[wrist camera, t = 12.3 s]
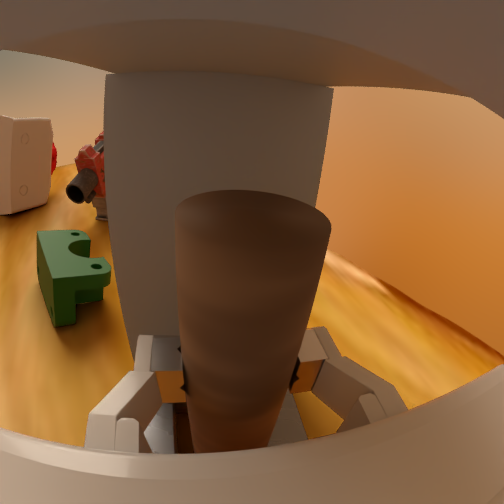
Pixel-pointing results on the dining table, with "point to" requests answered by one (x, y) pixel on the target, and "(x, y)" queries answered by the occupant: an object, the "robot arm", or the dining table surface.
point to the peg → (243, 308)
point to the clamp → (69, 273)
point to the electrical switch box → (25, 163)
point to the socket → (164, 422)
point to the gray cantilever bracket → (239, 100)
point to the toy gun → (90, 178)
